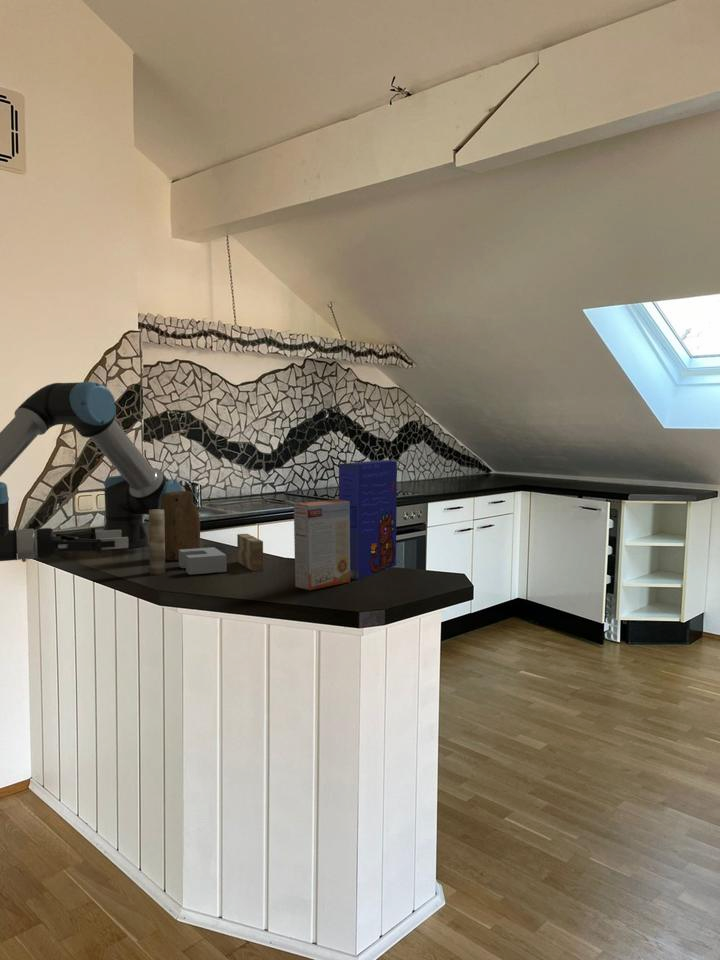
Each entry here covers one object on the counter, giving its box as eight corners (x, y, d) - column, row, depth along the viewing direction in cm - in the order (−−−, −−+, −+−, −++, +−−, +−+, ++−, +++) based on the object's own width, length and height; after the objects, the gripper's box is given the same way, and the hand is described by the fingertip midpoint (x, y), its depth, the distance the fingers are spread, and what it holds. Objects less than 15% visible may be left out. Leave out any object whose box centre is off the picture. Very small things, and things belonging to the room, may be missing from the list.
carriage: (179, 565, 206) (178, 549, 206) (214, 562, 211) (214, 547, 210) (189, 574, 194) (189, 557, 194) (226, 571, 198) (226, 555, 198)
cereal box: (377, 563, 212) (378, 459, 210) (395, 565, 210) (396, 460, 207) (338, 577, 194) (338, 463, 191) (358, 579, 191) (359, 463, 188)
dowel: (148, 572, 198) (147, 509, 197) (163, 571, 200) (162, 508, 199) (151, 575, 195) (150, 511, 193) (166, 573, 196) (165, 510, 195)
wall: (237, 561, 214) (237, 534, 214) (247, 560, 215) (247, 533, 215) (252, 571, 201) (252, 542, 200) (263, 570, 202) (263, 541, 201)
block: (171, 562, 212) (170, 493, 211) (157, 559, 217) (156, 491, 216) (203, 557, 220) (202, 491, 218) (189, 554, 225) (188, 489, 224)
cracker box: (335, 579, 191) (335, 498, 189) (351, 582, 187) (351, 500, 185) (293, 587, 181) (292, 502, 180) (308, 591, 177) (308, 504, 175)
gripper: (35, 550, 196) (119, 545, 204) (37, 567, 173) (131, 560, 182) (34, 522, 195) (118, 518, 204) (36, 535, 172) (130, 530, 181)
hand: (124, 538), depth 193 cm, fingers open, 13 cm apart
